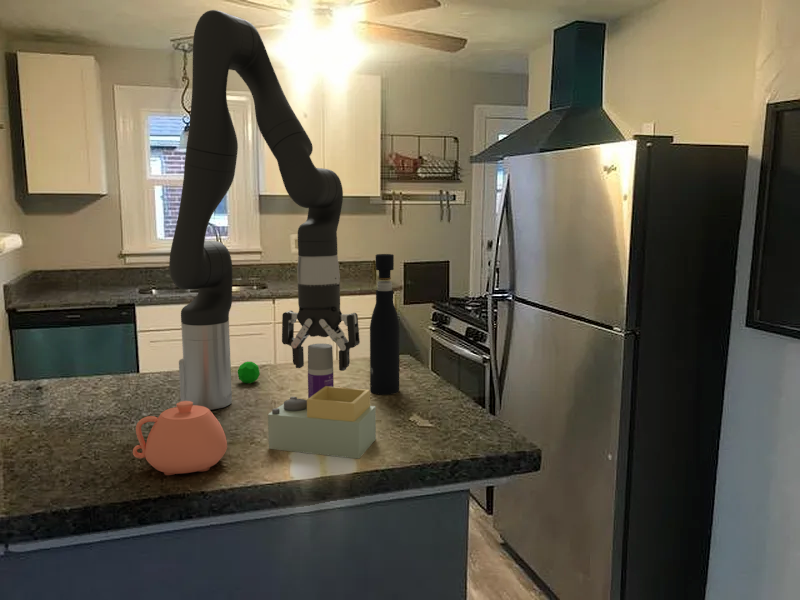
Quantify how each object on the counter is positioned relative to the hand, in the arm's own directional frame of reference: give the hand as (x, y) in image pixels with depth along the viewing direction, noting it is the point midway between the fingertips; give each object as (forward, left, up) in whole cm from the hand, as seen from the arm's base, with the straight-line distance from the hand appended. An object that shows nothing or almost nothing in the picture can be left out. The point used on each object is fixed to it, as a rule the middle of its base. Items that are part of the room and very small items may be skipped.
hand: (321, 368), depth 119 cm
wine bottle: (+5, +25, -11) cm, 28 cm away
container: (0, 0, -11) cm, 11 cm away
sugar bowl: (-14, -23, -11) cm, 29 cm away
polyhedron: (-27, +23, -11) cm, 37 cm away
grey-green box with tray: (+4, -9, -11) cm, 14 cm away
